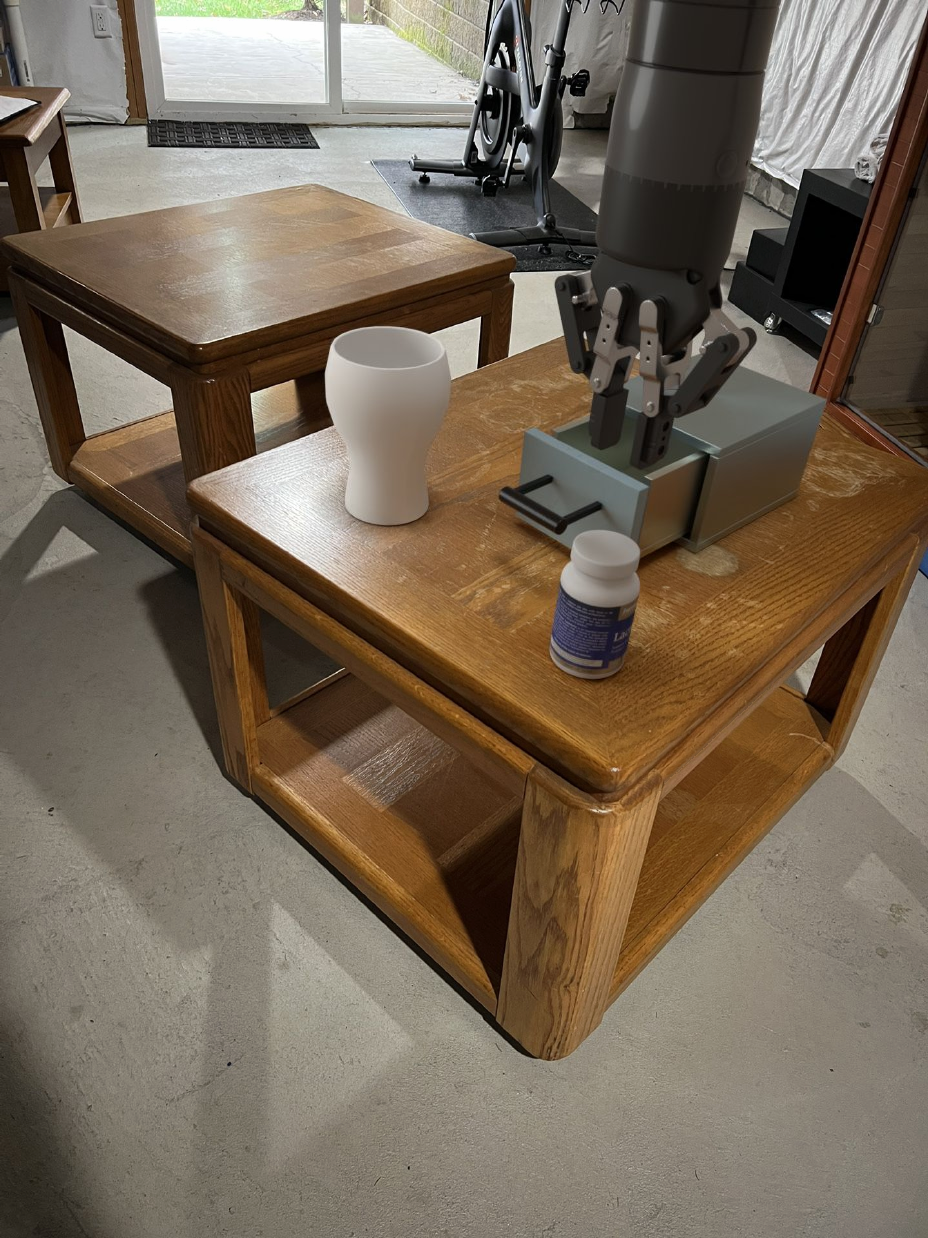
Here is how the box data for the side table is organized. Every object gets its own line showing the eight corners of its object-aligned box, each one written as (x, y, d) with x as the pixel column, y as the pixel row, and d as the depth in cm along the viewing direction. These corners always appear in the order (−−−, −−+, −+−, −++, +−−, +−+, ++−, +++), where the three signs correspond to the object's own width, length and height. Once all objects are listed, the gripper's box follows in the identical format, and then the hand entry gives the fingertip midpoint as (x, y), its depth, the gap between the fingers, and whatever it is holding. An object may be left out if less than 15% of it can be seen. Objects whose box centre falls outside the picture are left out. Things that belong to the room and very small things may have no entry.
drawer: (575, 604, 74) (591, 513, 69) (468, 536, 81) (475, 448, 76) (730, 520, 86) (753, 437, 81) (625, 466, 93) (640, 387, 88)
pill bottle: (622, 688, 68) (647, 575, 62) (544, 675, 68) (561, 562, 62) (625, 640, 72) (648, 530, 66) (552, 628, 73) (568, 519, 67)
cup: (426, 471, 92) (432, 320, 83) (458, 527, 84) (469, 367, 75) (319, 481, 89) (313, 326, 80) (341, 541, 81) (337, 376, 72)
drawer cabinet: (695, 553, 83) (721, 448, 77) (579, 490, 91) (595, 390, 84) (796, 496, 92) (827, 399, 86) (684, 444, 100) (705, 351, 94)
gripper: (831, 182, 48) (748, 481, 58) (621, 131, 56) (581, 402, 66) (748, 200, 43) (674, 518, 54) (533, 142, 51) (506, 430, 62)
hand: (623, 453), depth 60 cm, fingers closed
